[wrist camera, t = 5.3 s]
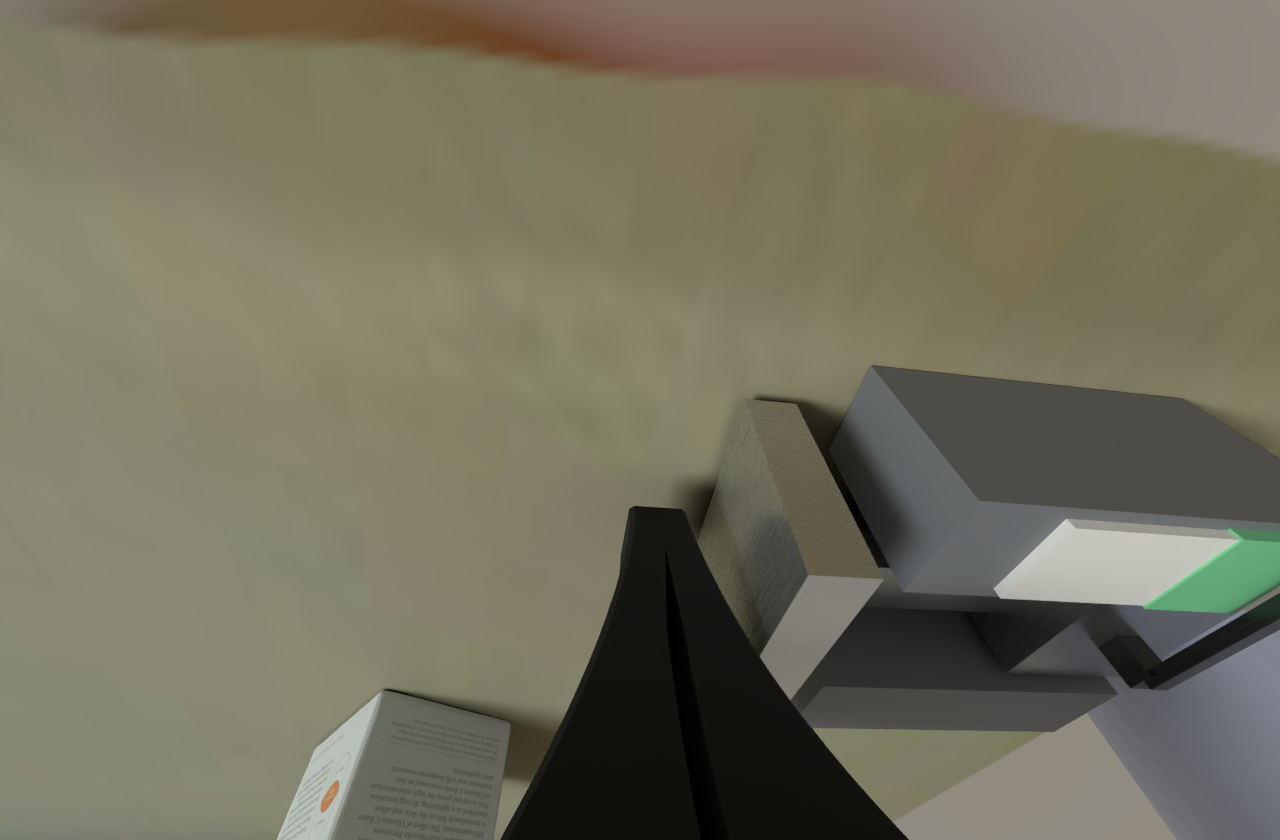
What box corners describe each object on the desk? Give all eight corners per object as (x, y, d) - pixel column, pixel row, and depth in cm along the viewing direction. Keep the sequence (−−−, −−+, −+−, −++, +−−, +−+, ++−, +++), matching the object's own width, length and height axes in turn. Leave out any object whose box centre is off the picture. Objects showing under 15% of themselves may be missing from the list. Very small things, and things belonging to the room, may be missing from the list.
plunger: (1195, 417, 11) (1462, 585, 8) (1002, 596, 16) (1112, 752, 12) (753, 372, 10) (826, 547, 7) (684, 580, 15) (704, 748, 11)
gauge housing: (1182, 399, 11) (1418, 543, 8) (972, 604, 17) (1059, 741, 13) (870, 365, 10) (988, 512, 7) (755, 593, 16) (791, 738, 13)
